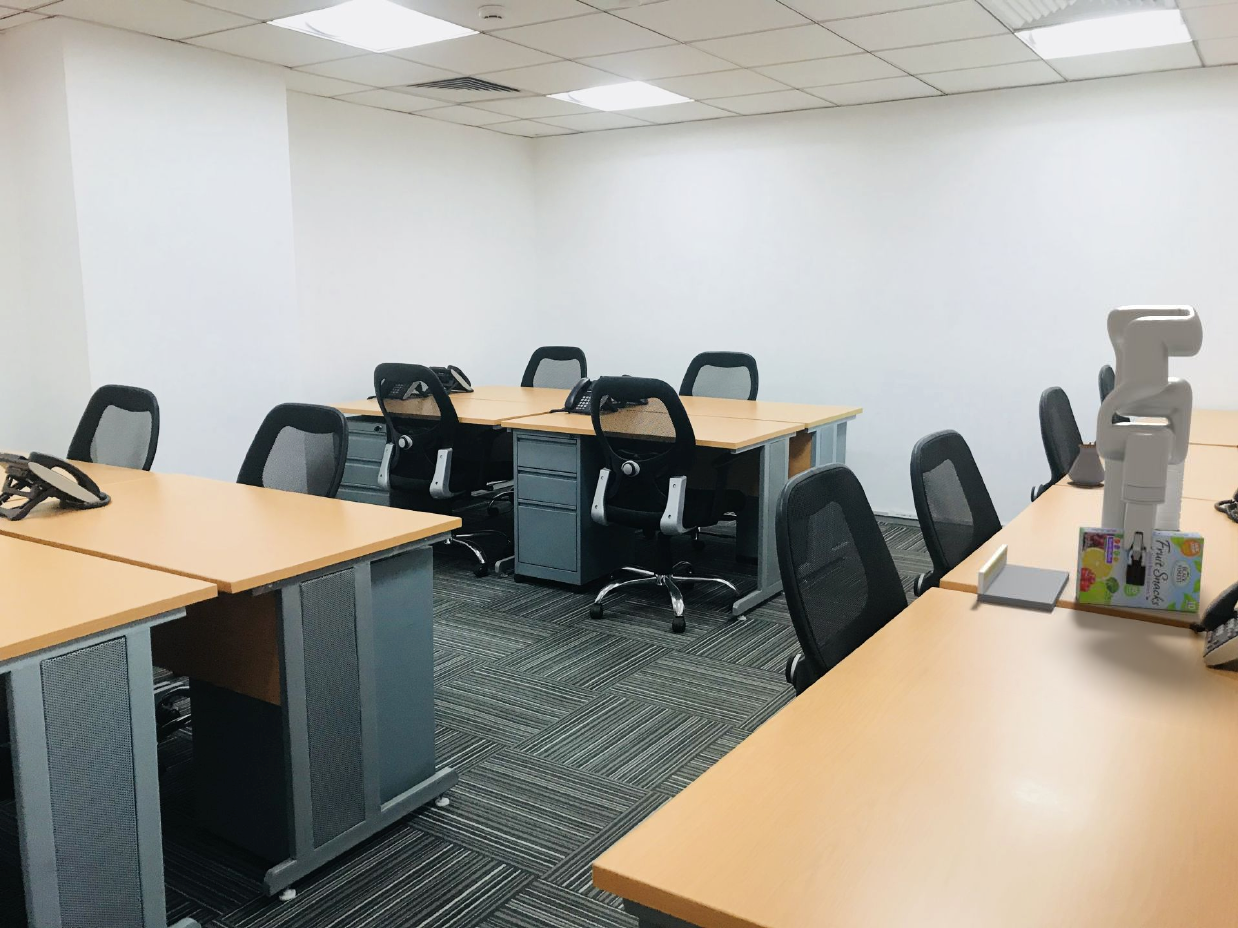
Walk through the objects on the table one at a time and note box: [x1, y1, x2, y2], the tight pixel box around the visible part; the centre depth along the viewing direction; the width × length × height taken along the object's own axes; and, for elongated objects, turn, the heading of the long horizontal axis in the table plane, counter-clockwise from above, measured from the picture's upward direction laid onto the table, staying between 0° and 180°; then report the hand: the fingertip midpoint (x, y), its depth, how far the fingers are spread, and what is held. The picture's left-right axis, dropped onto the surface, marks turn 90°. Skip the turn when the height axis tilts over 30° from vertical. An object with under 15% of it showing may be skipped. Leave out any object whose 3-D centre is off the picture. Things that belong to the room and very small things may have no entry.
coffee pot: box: [1067, 443, 1105, 486], centre depth 311 cm, size 21×12×15 cm, turn 56°
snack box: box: [1075, 526, 1205, 613], centre depth 187 cm, size 21×6×15 cm, turn 71°
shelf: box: [976, 543, 1071, 612], centre depth 199 cm, size 26×14×6 cm, turn 148°
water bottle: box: [1155, 459, 1186, 532], centre depth 250 cm, size 9×6×25 cm
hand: (1136, 578), depth 188 cm, fingers open, 8 cm apart
